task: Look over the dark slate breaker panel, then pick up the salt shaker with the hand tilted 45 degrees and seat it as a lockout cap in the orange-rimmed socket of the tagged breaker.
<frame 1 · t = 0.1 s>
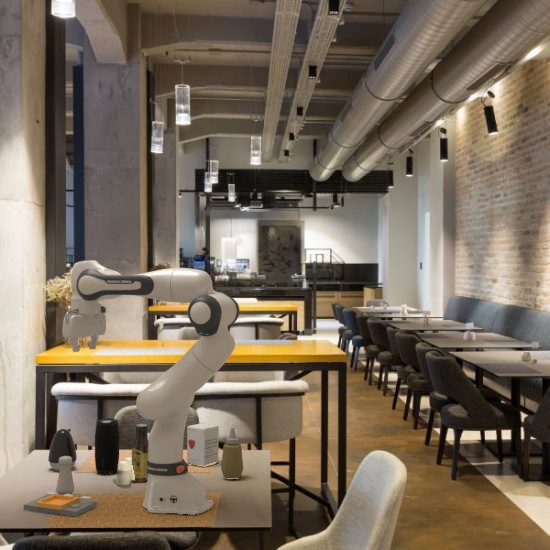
hand: (84, 350, 253), 48 cm above the table, tool pointing down, fingers open, 8 cm apart
portable speaker: (106, 473, 281), on the table
panel: (60, 508, 237), on the table
sauce bottle: (140, 481, 270), on the table
black rounded piece: (62, 469, 285), on the table
supplement box: (202, 464, 295), on the table
salt shaker: (65, 496, 250), on the table
squeeze bottle: (232, 478, 274), on the table
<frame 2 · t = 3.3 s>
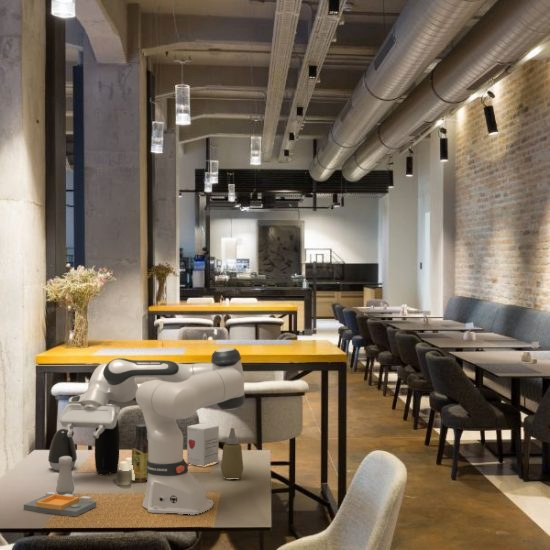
hand: (82, 436, 263), 17 cm above the table, tool tilted 45°, fingers open, 8 cm apart
nothing on the table moved.
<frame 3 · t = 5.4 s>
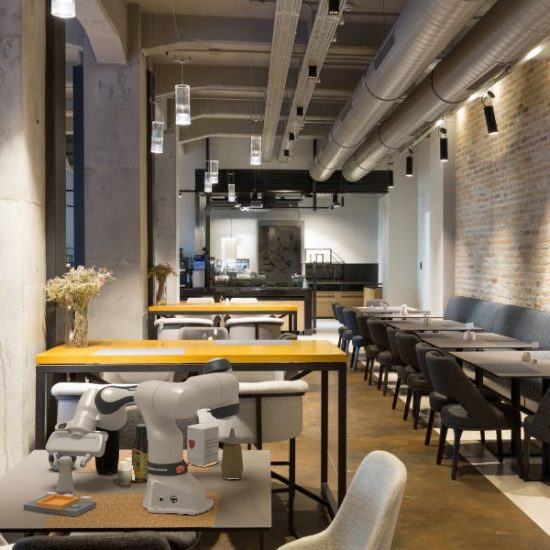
hand: (69, 465, 254), 9 cm above the table, tool tilted 45°, fingers open, 8 cm apart
nothing on the table moved.
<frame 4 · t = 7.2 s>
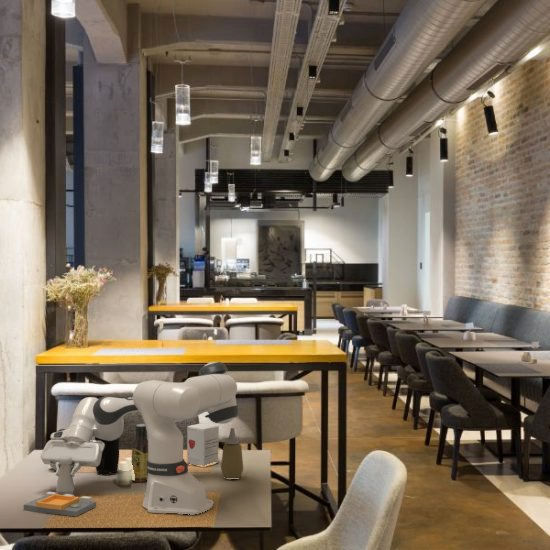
hand: (64, 475, 250), 7 cm above the table, tool tilted 45°, fingers closed on salt shaker, 3 cm apart
sauce bottle: (140, 481, 270), on the table, touching arm
salt shaker: (65, 496, 250), on the table, touching gripper
everything else where it was.
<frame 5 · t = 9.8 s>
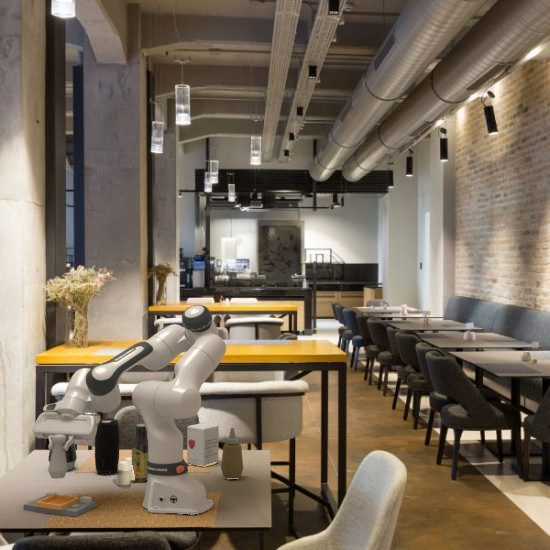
hand: (57, 449, 236), 19 cm above the table, tool tilted 45°, fingers closed on salt shaker, 3 cm apart
sauce bottle: (140, 481, 270), on the table
salt shaker: (57, 477, 236), point 10 cm above the table, touching gripper
everything else where it was.
when the fingers open (10 cm above the table, at t = 11.8 s): salt shaker stays where it is, resting on panel.
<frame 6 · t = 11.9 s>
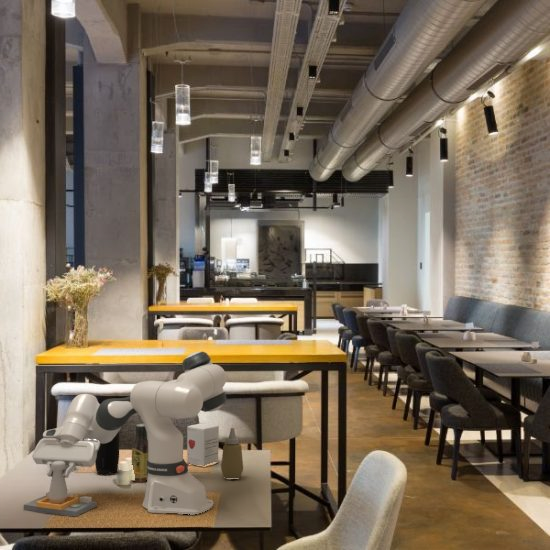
hand: (57, 476, 236), 10 cm above the table, tool tilted 45°, fingers open, 4 cm apart
salt shaker: (58, 504, 236), point 2 cm above the table, touching panel
everything else where it was.
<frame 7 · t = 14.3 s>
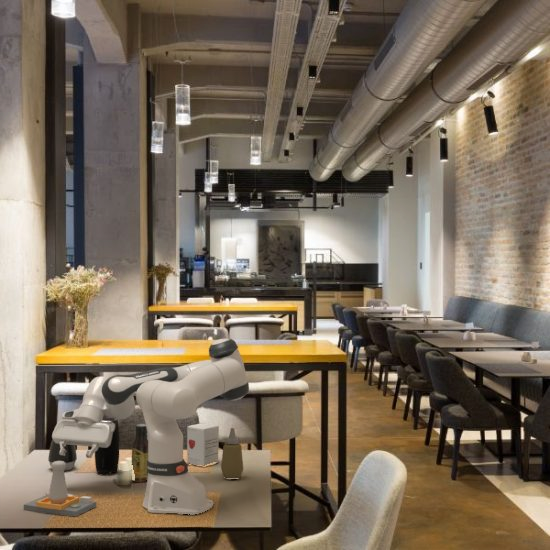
hand: (75, 455, 251), 13 cm above the table, tool tilted 40°, fingers open, 8 cm apart
nothing on the table moved.
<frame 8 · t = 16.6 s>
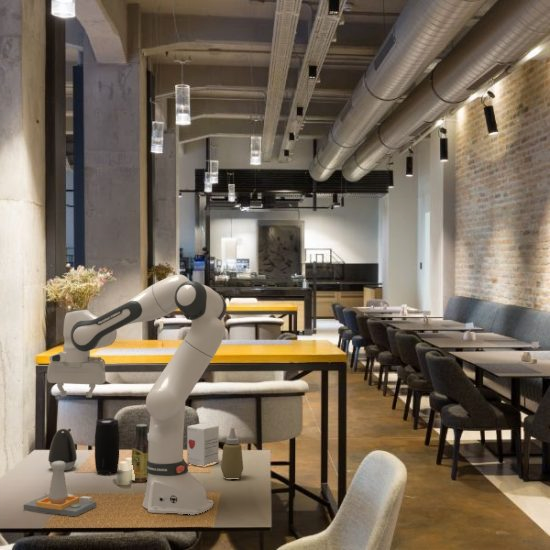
hand: (76, 396, 261), 31 cm above the table, tool pointing down, fingers open, 8 cm apart
nothing on the table moved.
at the end: salt shaker 0.0 cm from the target spot on the panel, point 1.6 cm above the panel's base; salt shaker tilted 0°; the gripper is holding nothing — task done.
